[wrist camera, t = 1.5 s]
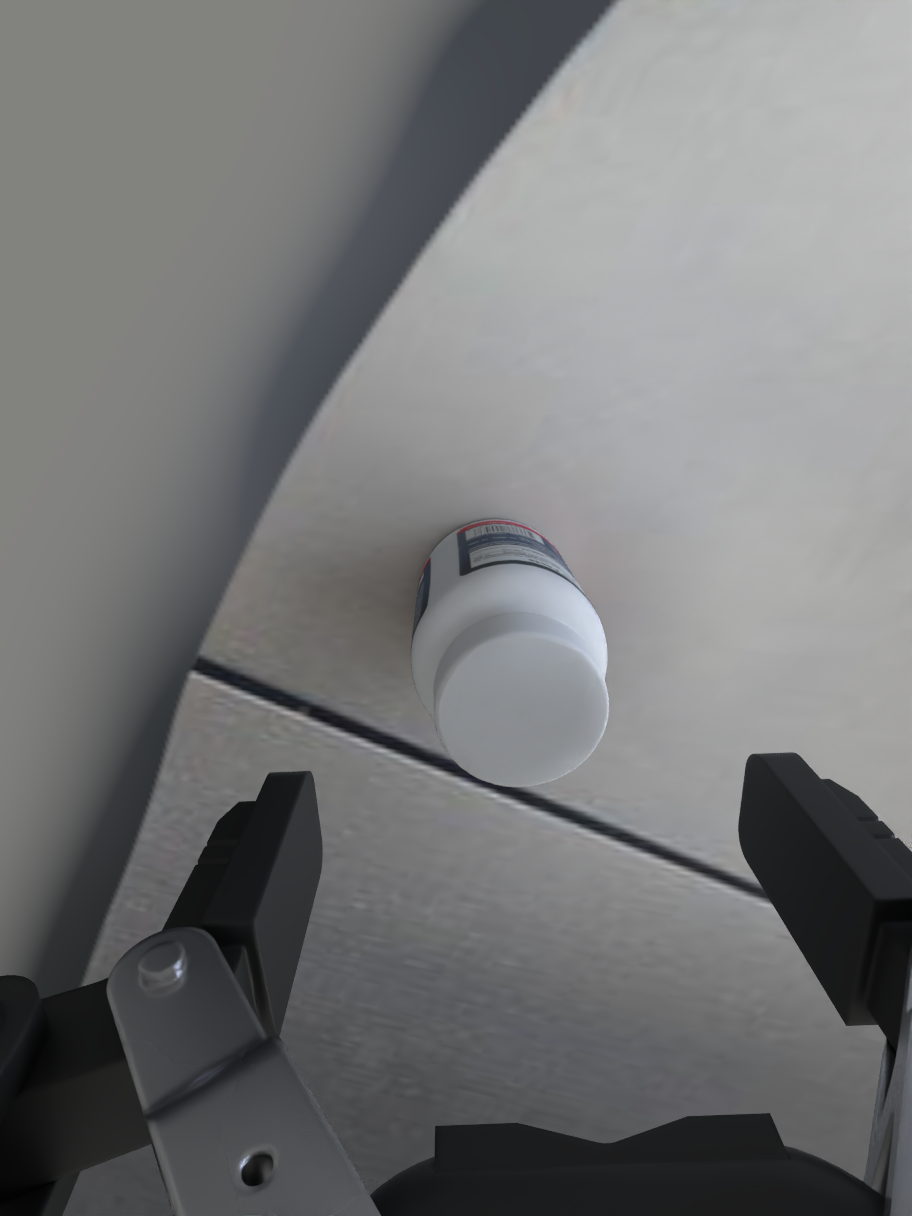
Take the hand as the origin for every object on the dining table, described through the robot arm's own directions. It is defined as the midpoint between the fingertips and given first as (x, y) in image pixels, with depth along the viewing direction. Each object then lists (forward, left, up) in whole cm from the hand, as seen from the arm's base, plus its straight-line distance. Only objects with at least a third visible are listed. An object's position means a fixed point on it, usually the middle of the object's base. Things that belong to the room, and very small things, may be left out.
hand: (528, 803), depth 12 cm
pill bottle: (0, 0, -12) cm, 12 cm away
